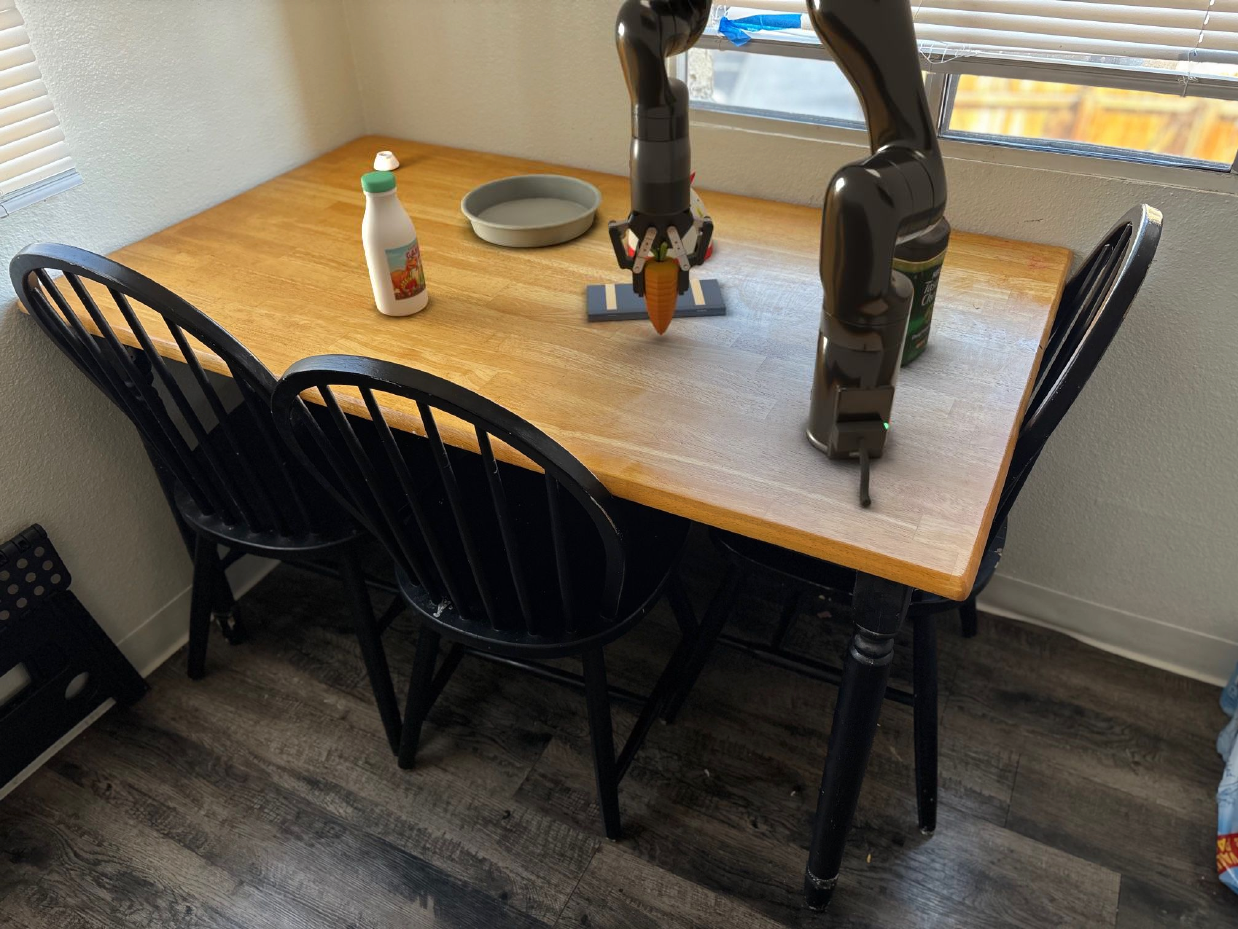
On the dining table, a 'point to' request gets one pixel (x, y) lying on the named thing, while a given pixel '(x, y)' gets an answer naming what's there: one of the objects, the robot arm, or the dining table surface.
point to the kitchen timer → (691, 236)
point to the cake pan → (532, 209)
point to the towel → (627, 305)
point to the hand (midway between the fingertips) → (660, 293)
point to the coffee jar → (922, 282)
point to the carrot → (660, 287)
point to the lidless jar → (385, 161)
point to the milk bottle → (391, 248)
